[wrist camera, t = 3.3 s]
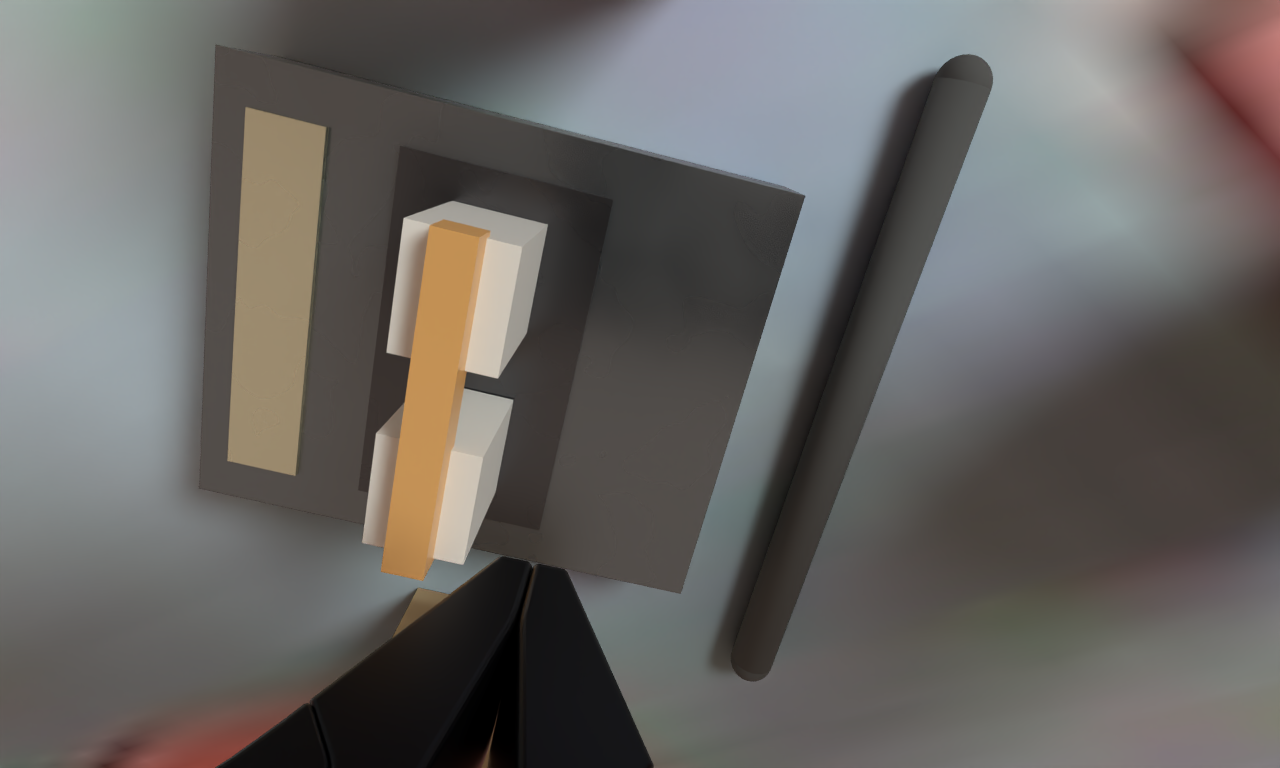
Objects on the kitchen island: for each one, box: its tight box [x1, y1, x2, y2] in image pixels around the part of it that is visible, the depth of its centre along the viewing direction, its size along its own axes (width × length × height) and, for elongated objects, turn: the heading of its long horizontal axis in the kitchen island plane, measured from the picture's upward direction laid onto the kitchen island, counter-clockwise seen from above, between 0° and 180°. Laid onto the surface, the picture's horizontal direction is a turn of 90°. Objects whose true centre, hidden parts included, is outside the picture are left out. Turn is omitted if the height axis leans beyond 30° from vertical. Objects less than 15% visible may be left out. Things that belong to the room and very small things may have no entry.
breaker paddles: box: [362, 201, 548, 581], centre depth 14 cm, size 2×7×4 cm, turn 166°
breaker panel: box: [199, 45, 805, 594], centre depth 17 cm, size 12×10×3 cm
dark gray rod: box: [731, 54, 993, 681], centre depth 18 cm, size 1×17×1 cm, turn 167°
